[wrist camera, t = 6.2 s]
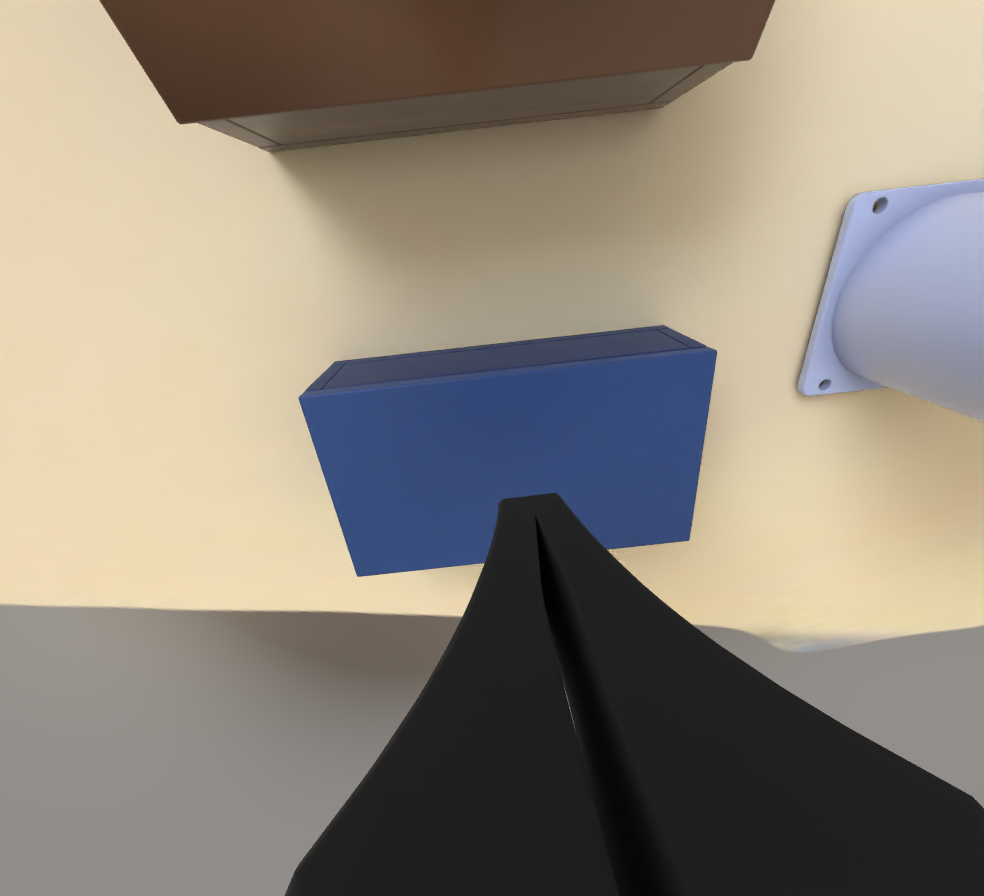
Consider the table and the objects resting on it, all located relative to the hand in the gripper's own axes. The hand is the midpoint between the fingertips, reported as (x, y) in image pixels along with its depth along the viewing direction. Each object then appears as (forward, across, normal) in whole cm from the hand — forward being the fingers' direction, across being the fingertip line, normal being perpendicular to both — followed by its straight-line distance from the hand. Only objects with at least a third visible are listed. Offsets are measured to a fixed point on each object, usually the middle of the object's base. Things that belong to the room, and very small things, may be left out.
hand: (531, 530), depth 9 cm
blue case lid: (+6, 0, +2) cm, 6 cm away
